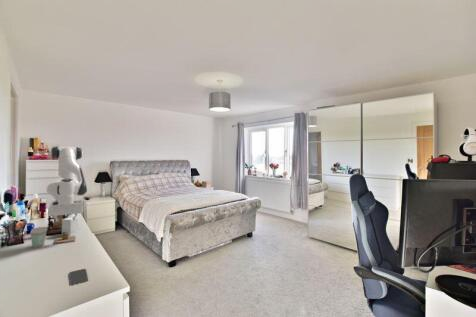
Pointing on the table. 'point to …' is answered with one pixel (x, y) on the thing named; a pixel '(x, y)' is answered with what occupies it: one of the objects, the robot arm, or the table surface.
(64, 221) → the supplement box
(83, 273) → the smartphone
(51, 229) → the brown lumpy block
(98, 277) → the table surface
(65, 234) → the lid
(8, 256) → the table surface
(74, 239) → the mat
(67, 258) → the table surface
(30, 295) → the table surface
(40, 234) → the coffee cup
